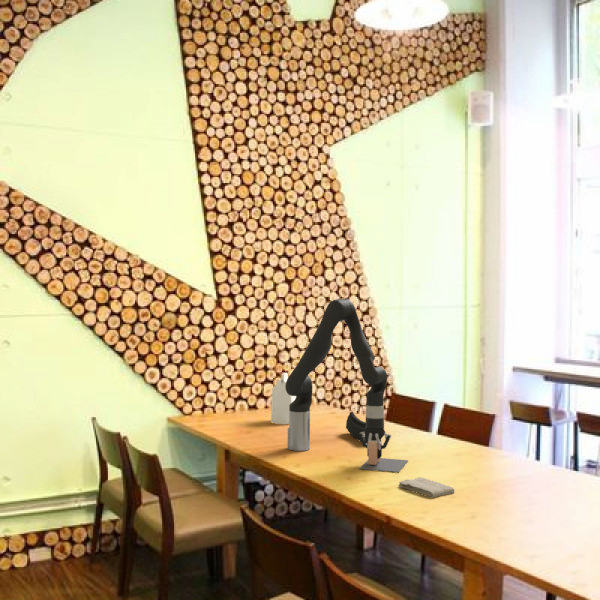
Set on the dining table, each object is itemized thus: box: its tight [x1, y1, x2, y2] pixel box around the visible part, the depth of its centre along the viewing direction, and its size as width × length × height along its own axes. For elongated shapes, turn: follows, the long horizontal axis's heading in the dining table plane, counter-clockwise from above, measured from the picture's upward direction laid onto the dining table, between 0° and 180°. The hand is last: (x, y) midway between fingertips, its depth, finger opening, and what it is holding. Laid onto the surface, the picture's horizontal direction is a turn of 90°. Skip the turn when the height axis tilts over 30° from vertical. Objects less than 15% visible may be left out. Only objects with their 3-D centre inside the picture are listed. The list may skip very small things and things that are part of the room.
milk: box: [270, 372, 296, 425], centre depth 391 cm, size 12×12×26 cm
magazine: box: [345, 411, 368, 444], centre depth 348 cm, size 17×3×30 cm
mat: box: [358, 457, 409, 474], centre depth 299 cm, size 16×20×1 cm
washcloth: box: [398, 476, 455, 499], centre depth 264 cm, size 12×18×3 cm, turn 37°
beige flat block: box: [367, 440, 380, 465], centre depth 300 cm, size 3×9×9 cm, turn 161°
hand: (374, 457), depth 300 cm, fingers closed on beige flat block, 3 cm apart
